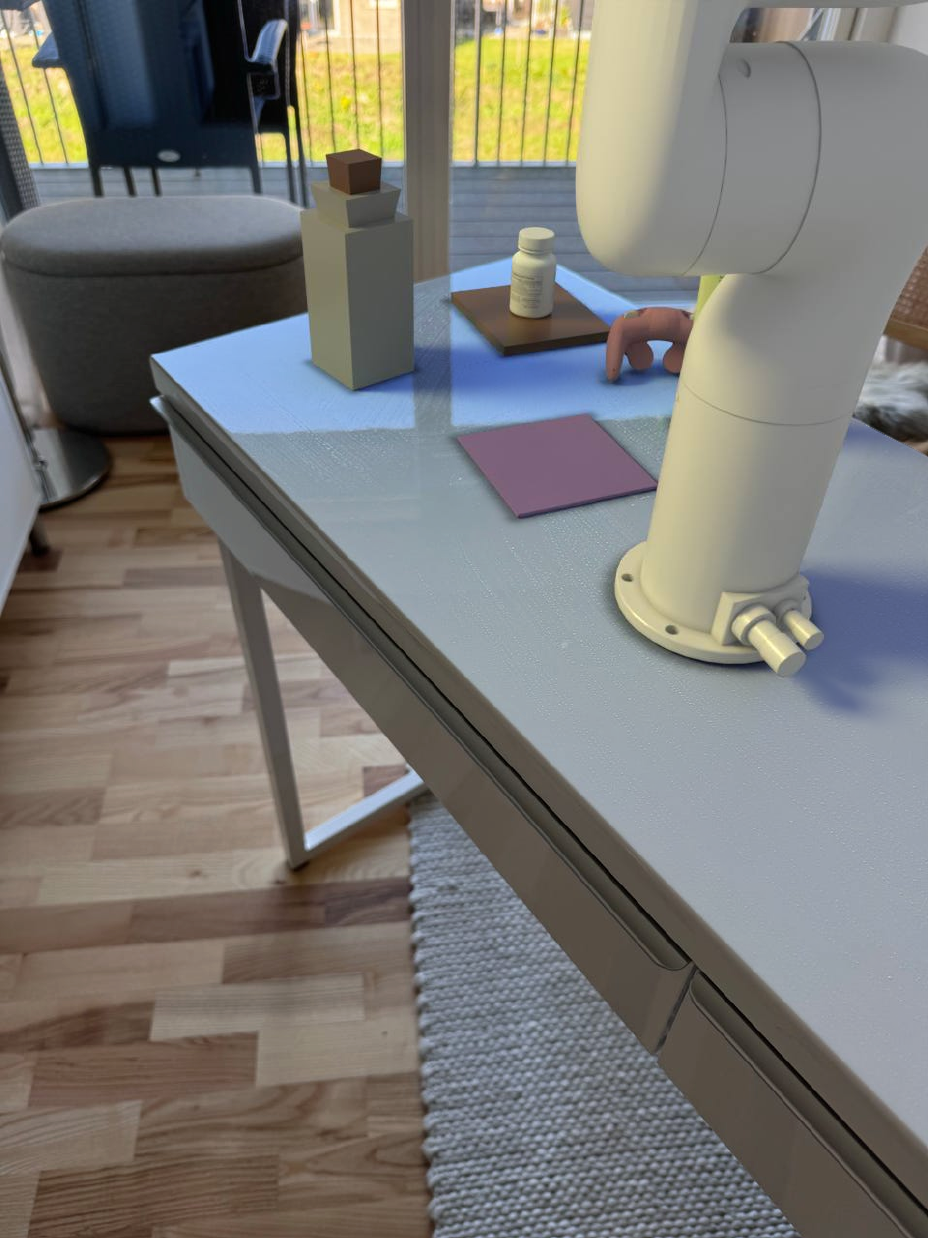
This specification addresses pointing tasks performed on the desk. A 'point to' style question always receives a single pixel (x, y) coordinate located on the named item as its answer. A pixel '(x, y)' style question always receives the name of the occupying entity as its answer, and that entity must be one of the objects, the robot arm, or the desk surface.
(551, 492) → the purple square plate
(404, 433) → the desk surface
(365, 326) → the perfume bottle
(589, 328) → the board
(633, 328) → the video game controller
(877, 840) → the desk surface
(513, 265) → the pill bottle
